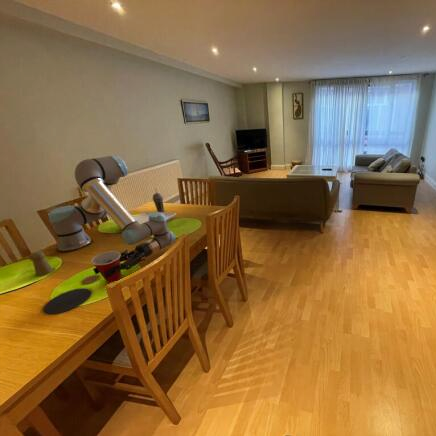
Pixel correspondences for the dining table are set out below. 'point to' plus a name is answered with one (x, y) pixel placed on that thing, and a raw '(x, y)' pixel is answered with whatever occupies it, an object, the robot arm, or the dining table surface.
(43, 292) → the dining table surface
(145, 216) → the square plate
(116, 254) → the plastic cup
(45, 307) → the slate mat
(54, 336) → the dining table surface
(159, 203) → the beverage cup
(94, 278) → the cork coaster
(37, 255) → the pepper shaker
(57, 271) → the dining table surface
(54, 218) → the robot arm
